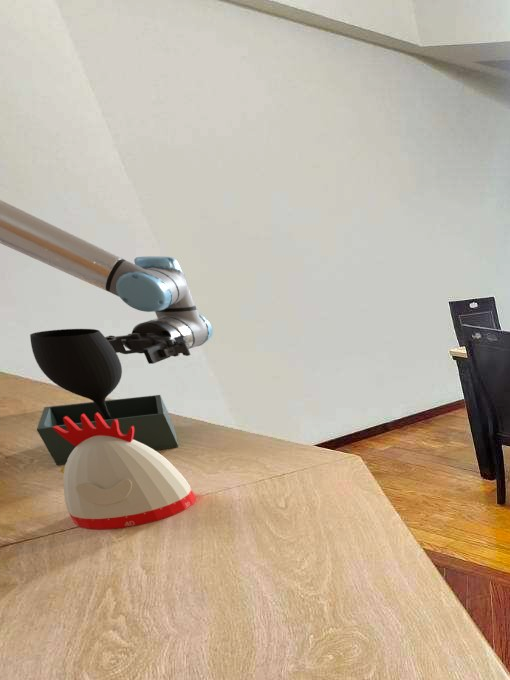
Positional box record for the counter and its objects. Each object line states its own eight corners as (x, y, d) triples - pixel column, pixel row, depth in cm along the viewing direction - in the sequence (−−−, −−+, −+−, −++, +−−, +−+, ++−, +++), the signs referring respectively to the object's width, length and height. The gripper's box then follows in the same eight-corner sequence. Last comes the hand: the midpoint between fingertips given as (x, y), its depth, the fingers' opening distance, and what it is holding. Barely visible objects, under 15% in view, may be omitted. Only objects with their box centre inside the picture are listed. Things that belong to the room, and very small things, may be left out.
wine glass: (142, 429, 121) (93, 326, 111) (164, 439, 116) (115, 332, 106) (72, 442, 113) (13, 332, 103) (93, 453, 108) (34, 340, 98)
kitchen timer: (95, 498, 94) (44, 405, 86) (204, 486, 99) (165, 397, 92) (57, 536, 83) (-5, 433, 76) (182, 519, 89) (136, 422, 81)
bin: (62, 440, 115) (44, 406, 112) (174, 425, 125) (160, 394, 122) (56, 465, 104) (36, 429, 101) (178, 447, 114) (163, 413, 111)
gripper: (235, 354, 136) (190, 375, 119) (101, 356, 129) (32, 378, 112) (222, 320, 132) (174, 336, 115) (83, 319, 126) (10, 337, 108)
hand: (104, 357), depth 113 cm, fingers open, 13 cm apart
